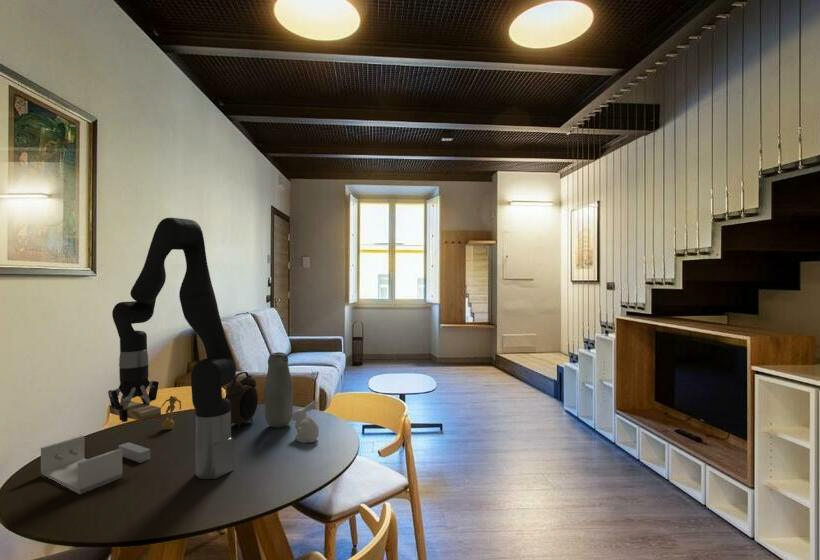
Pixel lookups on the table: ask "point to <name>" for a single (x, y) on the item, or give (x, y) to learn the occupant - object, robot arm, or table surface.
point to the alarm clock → (242, 399)
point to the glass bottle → (278, 391)
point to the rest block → (135, 452)
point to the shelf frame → (79, 465)
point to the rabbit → (305, 424)
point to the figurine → (168, 422)
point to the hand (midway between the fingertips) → (135, 418)
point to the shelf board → (139, 411)
